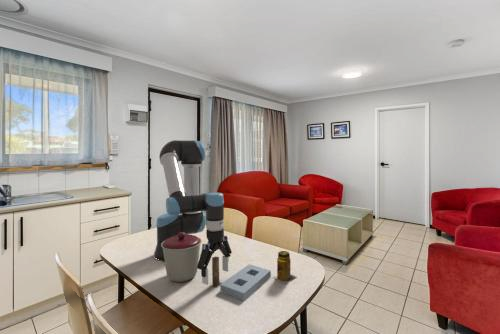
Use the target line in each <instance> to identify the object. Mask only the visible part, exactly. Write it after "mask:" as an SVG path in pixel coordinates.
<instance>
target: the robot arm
mask: <svg viewBox="0 0 500 334" xmlns="http://www.w3.org/2000/svg"><path fill="white" fill-rule="evenodd" d="M205 160H206V150H205V147H204V144H203V142H202V141H200V140H178V139H177V140H176V139H174V140H171V141H168V142H167V143H166V144H164V146H163V147H162V148H161V150H160V152H159V161H160V165H162V167H163V172H164V178H165V182H166V187H167V191H168V192H167V193H168V196H169V197H167V198H166V199H165V210H166V213H163V214H162V215H159V216H158V217H157V219H156V225H155V227H156V245H155V250H154V253H153V258H154V257H155V258H157V259H159V260H164V253H163V248H162V247H161V243H162V242H163V241H165V240H166V239H168V238H170V237H172V236H176V235H178V233H180V232H184V233H185V235H193V234H198V233H202V232H203V231H204V230H205V229H206V239H207V243H202V245H201V252H200V254H199V261H198V266H197V268H198V269H197V270H200V273H201V274H200V275H201V279H202V280H201V283H202V284H204V285H206V286H208V285H209V269H208V266H209V264H210V261H211V260H212V258H213V257H212V256H213V255H214V254H215V252H216V251H220V252H221V254H222V255H223V256H222V259H221V260H222V263H221V264H222V271H224V272H229V258H230V257H231V256H232V255H231V254H233V253H232V249H231V246H230V244H229V241H228V236H227V235H225V229H224V227H225V226H224V225H225V223H224V222H225V221H224V220H225V219H224V218H225V217H224V216H225V214H224V213H225V212H224V210H225V208H224V205H225V200H224V193H222V192H217V191H214V192H208V193H207V192H206V193H204V192H203V193H200V167H201V166H202V164H203V162H204V161H205ZM179 162H180V165H181V166H182V168H183V176H182V173H181V169H180V165H179ZM155 258H154V259H155ZM159 260H158V261H159Z"/></svg>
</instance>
